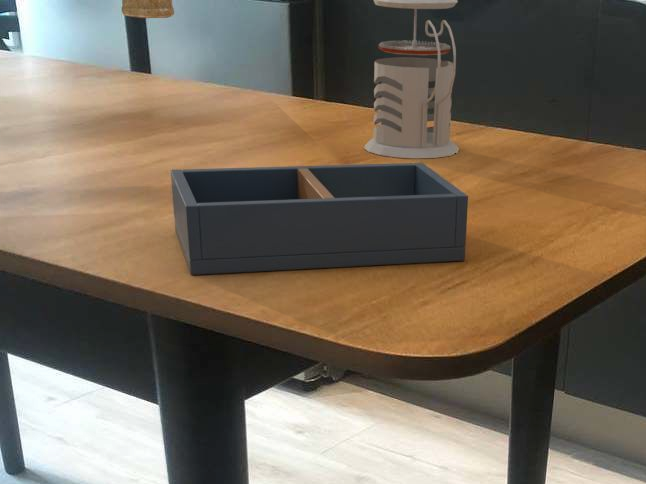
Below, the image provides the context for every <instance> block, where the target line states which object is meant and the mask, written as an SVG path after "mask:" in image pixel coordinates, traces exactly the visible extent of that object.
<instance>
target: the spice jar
mask: <svg viewBox="0 0 646 484" xmlns="http://www.w3.org/2000/svg"><path fill="white" fill-rule="evenodd" d="M121 2H122V4H121V5H122V6H121V13H122V15H124V16H126V17H131V18H138V19H139V18H140V19H167V18H170V17H173V15H175V8H174V6H173V0H121Z"/></svg>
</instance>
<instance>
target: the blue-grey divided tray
mask: <svg viewBox="0 0 646 484" xmlns="http://www.w3.org/2000/svg"><path fill="white" fill-rule="evenodd" d="M170 179H171V183H170V184H171V195H172V206H173V207H172V208H173V218H174V230H175V231H174V232H175V234H176V237H177V240H178V242H179V246H180V248H181V251H182V254H183V256H184V259H185V263H186V265H187V268H188V271H189V273H190V275H191V276H200V275H218V274H219V275H220V274H240V273H259V272H275V271H295V270H313V269H314V270H315V269H333V268H334V269H335V268H351V267H352V268H353V267H354V268H355V267H370V266H371V267H373V266H389V265H409V264H411V265H412V264H426V263H427V264H428V263H446V262H447V263H449V262H464V261H466V260H465V259H466V245H467V244H466V242H467V228H468V227H467V225H468V224H467V223H468V207H469V195H468V194H466V193H465V192H464V191H462V190H461V189H460V188H458V187H457V186H455V185H454V184H452V183H451V182H450V181H448V180H447V179H446V178H444V177H443V176H442V175H440V174H439V173H437V172H436V171H435V170H433V169H432V168H431V167H429V166H428V165H427V164H426V163H424V162H401V163H395V162H394V163H367V164H365V163H364V164H363V163H362V164H331V165H329V164H328V165H326V164H325V165H294V166H292V165H291V166H290V165H289V166H260V167H259V166H258V167H257V166H256V167H255V166H254V167H221V168H220V167H219V168H218V167H217V168H187V169H185V168H184V169H183V168H182V169H170Z"/></svg>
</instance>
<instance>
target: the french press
mask: <svg viewBox="0 0 646 484" xmlns="http://www.w3.org/2000/svg"><path fill="white" fill-rule="evenodd" d="M458 2H459V1H458V0H373V3H374V5H375V6H379V7H385V8H395V9H413V15H414V16H413V39H412V40H404V39H402V40H387V41H381V42H380V43H378V45H377V48H378V49H379V50H381V51H382V52H384V53H387V54H393V55H403V56H404V55H405V57H401V56H400V57H399V56H398V57H385V58H379V59H375V60H374V70H373V71H374V73H373V75H374V76H373V77H374V78H373V83H374V84H375V85H376V86H375V87H374V89H373V97H374V98H375V101H374V102H373V111H374V112H375V114H374V115H373V125H375V127H374V128H373V137H371V139H370V140H368V141H367V143H366V144H365V145H364V147H363V149H364V150H365V151H367V152H368V153H371V154H375V155H378V156H383V157H391V158H399V159H400V158H401V159H438V158H444V157H451V156H453V155H456V154H458V153H459V152H458V150H459V151H460V148H459V147H458V146H457V144H456V143H455V142H454V141H452V140H451V120H452V119H451V118H452V110H451V109H452V93H453V86H454V82H455V79H456V68H457V47H456V43H455V38H454V35H453V30H452V28H451V26H450V24H449V23H448V22H447V20H444V19H442V20H441V22H440V30H439V31H438V32H437V30H436V27H435V26H434V24H433V23H432V21H431V20H430V19H427V20H426V21H425V27H424V28H425V29H424V31H425V35H426V36H428V37H430V38H434V39H435V42H433V41H428V42H427V40H425V41H424V40H422V41H421V40H417V20H418V19H417V18H418V10H443V9H444V10H445V9H451V8H454V7H455V6H456V5H457V3H458ZM444 25H445V27H446V28H447V30H448V33H449V36H450V39H451V45H449V44H447V43H445V42H444V43H443V42H440V41H439V37H440V36H442V34H443V32H444ZM429 26H430V28H431V29H432V31H433V32H432V33H431V32H429V30H428V28H429ZM451 49H452V55H453V61H449V60H444V59H442V58H441V57H442V55H445V54H448V53H449V52H450V50H451ZM407 56H409V57H407ZM410 56H437V58H430V57H429V58H427V57H410ZM429 82H434V83H435V84H434V87H429ZM433 98H434V100H433ZM428 109H434V110H433V113H428ZM379 110H380V111H379ZM428 122H433V126H428ZM379 123H380V124H379ZM455 153H456V154H455Z"/></svg>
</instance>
